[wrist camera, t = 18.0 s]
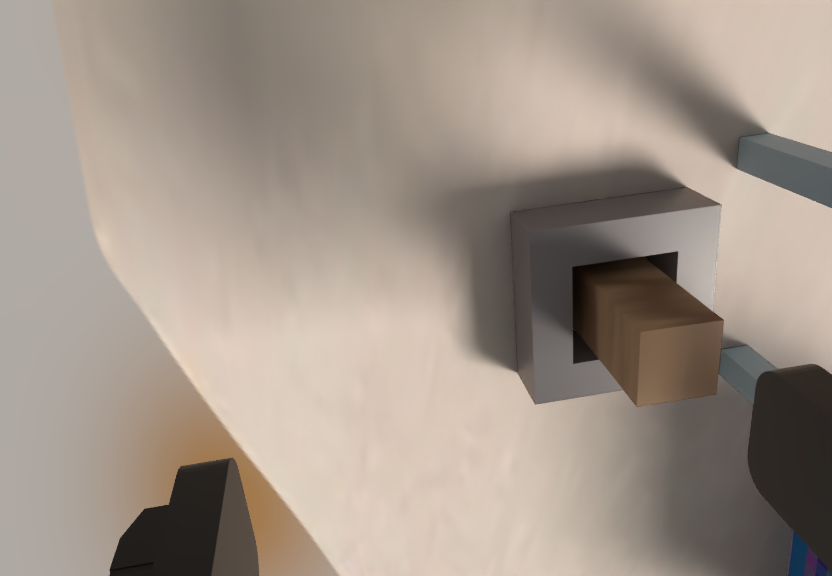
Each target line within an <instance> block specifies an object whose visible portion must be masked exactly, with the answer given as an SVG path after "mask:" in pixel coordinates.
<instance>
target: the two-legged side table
mask: <svg viewBox="0 0 832 576" xmlns="http://www.w3.org/2000/svg"><path fill="white" fill-rule="evenodd" d="M737 169H738V170H741V171H743V172H746V173H748V174H750V175H753V176H755V177H758V178H760V179H762V180H765V181H767V182H770V183H772V184H775V185H777V186H779V187H782V188H784V189H787V190H789V191H792V192H794V193H796V194H799V195H801V196H804V197H806V198H809V199H811V200H813V201H816V202H818V203H821V204H823V205H826V206H828V207H830V208H832V152H829V151H826V150H823V149H819V148H816V147H813V146H810V145H806V144H803V143H800V142H797V141H793V140H790V139H787V138H783V137H780V136H777V135H774V134H770V133H769V134H761V135H754V136H746V137H740V139H739V151H738V162H737ZM771 370H777V368H776V367H775V366H773V365H772V364H771V363H770V362H768V361H767V360H766V359H765V358H763V357H762V356H761V355H760V354H758V353H757V352H756V351H755V350H753V349H752V348H751V347H750V346H748V345H746V346H740V347H733V348H727V349H721V358H720V369H719V374H720V375H721V376H722V377H723V378H724V379H725V380H726V381H727V382H728V383H729V384H730V385H732V386H733V387H734V388H735V389H736V390H737V391H738V392H739V393H740V394H741V395H742V396H743V397H745V398H746V399H747V400H748V401H749V402H750V403H751V404H752V405H753V404H754V395H755V387H756V382H757V379H758V377H759V376H760V375H761V374H762V373H763V372H765V371H771Z"/></svg>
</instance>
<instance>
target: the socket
mask: <svg viewBox="0 0 832 576" xmlns="http://www.w3.org/2000/svg"><path fill="white" fill-rule="evenodd" d="M721 206H722V205H721V204H719V203H717V202H715V201H713V200H711V199H709V198H707V197H705V196H703V195H701V194H700V193H698V192H696V191H694V190H692V189H690V188H688V187H686V188H679V189H672V190H664V191H657V192H650V193H643V194H636V195H629V196H621V197H614V198H607V199H600V200H593V201H586V202H578V203H571V204H564V205H557V206H550V207H543V208H535V209H528V210H521V211H514V212H510V216H511V239H512V261H513V283H514V305H515V327H516V349H517V371H518V375H519V377H520V378H521V380H522V382H523V384H524V386H525V387H526V389H527V391H528V393H529V395H530V396H531V398H532V400H533V402H534V404H535V405H536V404H542V403H548V402H554V401H560V400H566V399H572V398H578V397H584V396H590V395H596V394H602V393H608V392H614V391H620V390H623V389H622V388H621V386H620V385H619V384H618V383H617V381H616V380H615V379H614V378H613V376H612V375H611V374H610V373H609V371H608V370H607V369H606V368H605V366H604V365H603V364H602V363H601V361H600V360H599V359H598V358H597V356H596V355H595V354H594V353H593V351H592V350H591V349H590V348H589V346H588V345H587V344H586V343H585V341H584V340H583V339H582V338H581V336H580V335H579V334H578V333H577V331H575V332H573V296H572V267H575V266H582V265H588V264H595V263H602V262H609V261H615V260H622V259H629V258H636V257H642V256H647V260H648V261H649V262H651V263H652V264H653V265H654V266H656V267H657V268H658V269H659V270H661V271H662V272H663V273H665V274H666V275H667V276H668V277H670V278H671V279H672V280H673V281H675V282H676V283H677V284H679V285H680V286H681V287H682V288H684V289H685V290H686V291H687V292H689V293H690V294H691V295H693V296H694V297H695V298H696V299H698V300H699V301H700V302H701V303H703V304H704V305H705V306H707V307H708V308H709V309H710V310H712V311H713V306H714V294H715V281H716V269H717V256H718V244H719V231H720V219H721Z"/></svg>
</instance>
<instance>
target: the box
mask: <svg viewBox="0 0 832 576" xmlns="http://www.w3.org/2000/svg"><path fill="white" fill-rule="evenodd" d="M787 576H832V572H831V571H830V570H829V569H828V568H827V567H826V566H825V564H824V563H823V562H822V561H821V560H820V559H819V558H818V557H817V556H816V554H815V553H814V552H813V551H812V550H811V549H810V548H809V547H808V546H807V544H806V543H805V542H804V541H803V540H802V539H801V538H800V537H799V536H798V535H797V533H796V532H795V531H794V530H792V538H791V546H790V554H789V562H788V570H787Z"/></svg>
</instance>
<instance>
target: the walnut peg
mask: <svg viewBox="0 0 832 576" xmlns="http://www.w3.org/2000/svg"><path fill="white" fill-rule="evenodd" d="M572 296H573V328H574V329H575V330H576V331H577V333H578V334H579V335H580V336H581V338H582V339H583V340H584V341H585V343H586V344H587V345H588V346H589V348H590V349H591V350H592V351H593V353H594V354H595V355H596V356H597V358H598V359H599V360H600V361H601V363H602V364H603V365H604V366H605V368H606V369H607V370H608V371H609V373H610V374H611V375H612V376H613V378H614V379H615V380H616V381H617V383H618V384H619V385H620V386H621V388H622V389H623V390H624V391H625V393H626V394H627V395H628V396H629V398H630V399H631V400H632V401H633V403H634V404H635V405H636V406H637V407H639V406H646V405H652V404H658V403H665V402H671V401H677V400H684V399H690V398H697V397H703V396H709V395H716V391H717V381H718V372H719V362H720V352H721V342H722V332H723V323H724V320H723V319H722V318H721V317H719V316H718V315H717V314H715V313H714V312H713V311H712V310H710V309H709V308H708V307H707V306H705V305H704V304H703V303H701V302H700V301H699V300H698V299H696V298H695V297H694V296H693V295H691V294H690V293H689V292H687V291H686V290H685V289H684V288H682V287H681V286H680V285H679V284H677V283H676V282H675V281H673V280H672V279H671V278H670V277H668V276H667V275H666V274H665V273H663V272H662V271H661V270H659V269H658V268H657V267H656V266H654V265H653V264H652V263H651V262H649V261H648V260H647V259H645V258H644V257H643V256H642V257H636V258H629V259H622V260H615V261H609V262H602V263H595V264H588V265H582V266H575V267H572Z"/></svg>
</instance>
